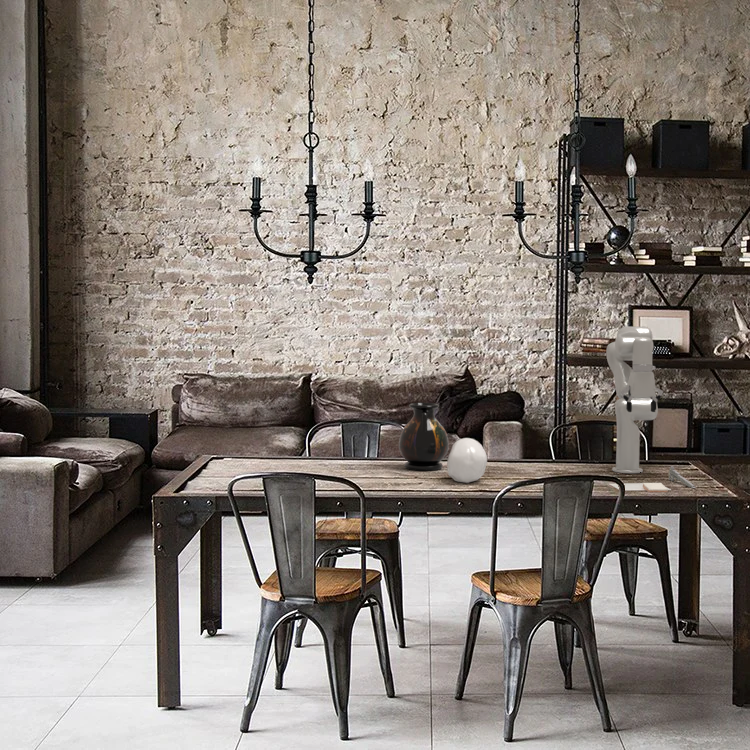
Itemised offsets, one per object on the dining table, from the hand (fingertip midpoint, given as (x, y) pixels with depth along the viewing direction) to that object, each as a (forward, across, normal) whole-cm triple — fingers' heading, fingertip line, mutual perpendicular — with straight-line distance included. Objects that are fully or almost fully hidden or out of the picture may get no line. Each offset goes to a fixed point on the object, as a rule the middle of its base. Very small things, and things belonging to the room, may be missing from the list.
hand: (641, 411), depth 402 cm
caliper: (+29, -15, +6) cm, 33 cm away
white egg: (+29, +69, -9) cm, 75 cm away
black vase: (+28, +82, -39) cm, 95 cm away
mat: (+28, +5, +14) cm, 32 cm away
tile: (+27, +5, +21) cm, 35 cm away
